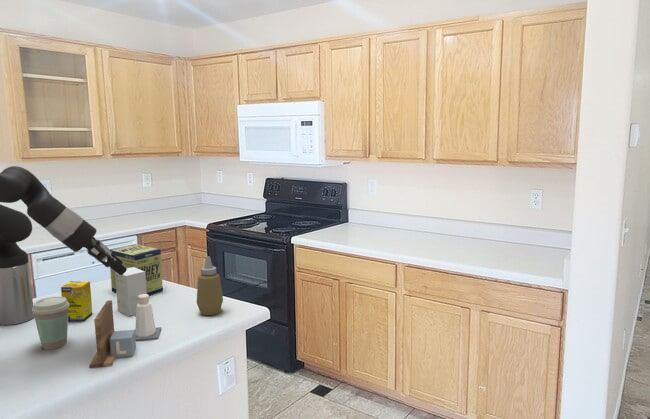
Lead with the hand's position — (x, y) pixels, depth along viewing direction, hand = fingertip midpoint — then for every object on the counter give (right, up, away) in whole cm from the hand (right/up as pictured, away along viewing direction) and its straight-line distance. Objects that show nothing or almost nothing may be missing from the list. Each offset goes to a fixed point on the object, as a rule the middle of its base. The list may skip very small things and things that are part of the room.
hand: (122, 268), depth 125 cm
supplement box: (-21, -17, +17) cm, 32 cm away
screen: (-1, -21, -6) cm, 22 cm away
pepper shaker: (+4, -19, +5) cm, 20 cm away
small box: (-7, -16, +24) cm, 30 cm away
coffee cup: (-18, -20, 0) cm, 27 cm away
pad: (+4, -19, +5) cm, 20 cm away
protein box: (-13, -14, +42) cm, 46 cm away
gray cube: (+3, -21, -5) cm, 22 cm away
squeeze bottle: (+18, -17, +22) cm, 33 cm away
